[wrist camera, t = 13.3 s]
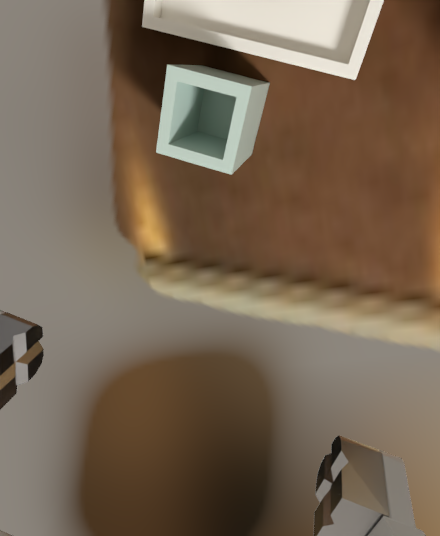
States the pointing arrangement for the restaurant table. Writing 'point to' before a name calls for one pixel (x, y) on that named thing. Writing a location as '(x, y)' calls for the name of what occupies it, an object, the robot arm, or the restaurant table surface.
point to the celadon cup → (210, 116)
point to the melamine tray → (275, 28)
